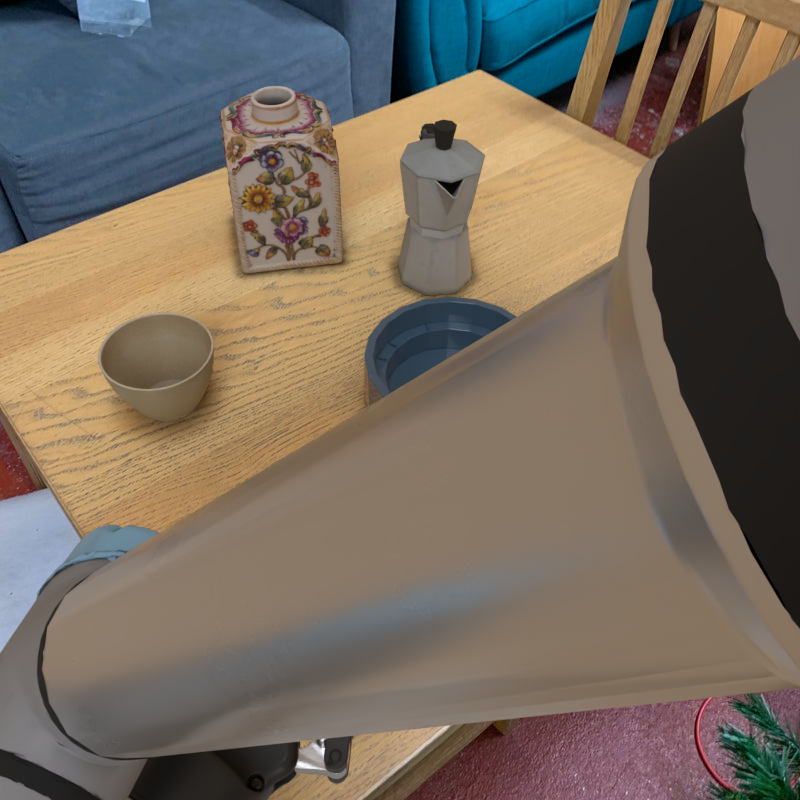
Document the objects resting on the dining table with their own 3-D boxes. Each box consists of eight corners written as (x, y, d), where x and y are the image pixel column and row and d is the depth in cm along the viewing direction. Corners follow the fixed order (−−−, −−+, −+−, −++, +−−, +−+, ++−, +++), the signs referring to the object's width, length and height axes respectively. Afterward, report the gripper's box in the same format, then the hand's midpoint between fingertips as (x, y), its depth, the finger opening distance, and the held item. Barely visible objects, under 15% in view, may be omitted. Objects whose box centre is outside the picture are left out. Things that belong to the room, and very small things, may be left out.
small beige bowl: (116, 450, 69) (94, 396, 64) (120, 373, 76) (100, 318, 70) (227, 434, 71) (216, 380, 65) (222, 360, 77) (211, 305, 72)
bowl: (571, 427, 72) (584, 383, 68) (419, 494, 67) (422, 451, 62) (477, 322, 82) (483, 278, 77) (337, 373, 76) (334, 329, 72)
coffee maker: (484, 304, 84) (505, 155, 71) (405, 311, 83) (411, 160, 70) (456, 225, 94) (470, 81, 81) (386, 230, 93) (387, 85, 79)
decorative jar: (344, 265, 88) (338, 117, 75) (242, 277, 86) (218, 128, 73) (328, 207, 96) (321, 64, 83) (234, 217, 94) (211, 72, 81)
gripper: (70, 768, 43) (313, 483, 57) (286, 939, 38) (497, 580, 52) (24, 719, 38) (306, 417, 51) (269, 911, 33) (510, 517, 46)
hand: (401, 499), depth 52 cm, fingers closed on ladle, 2 cm apart
